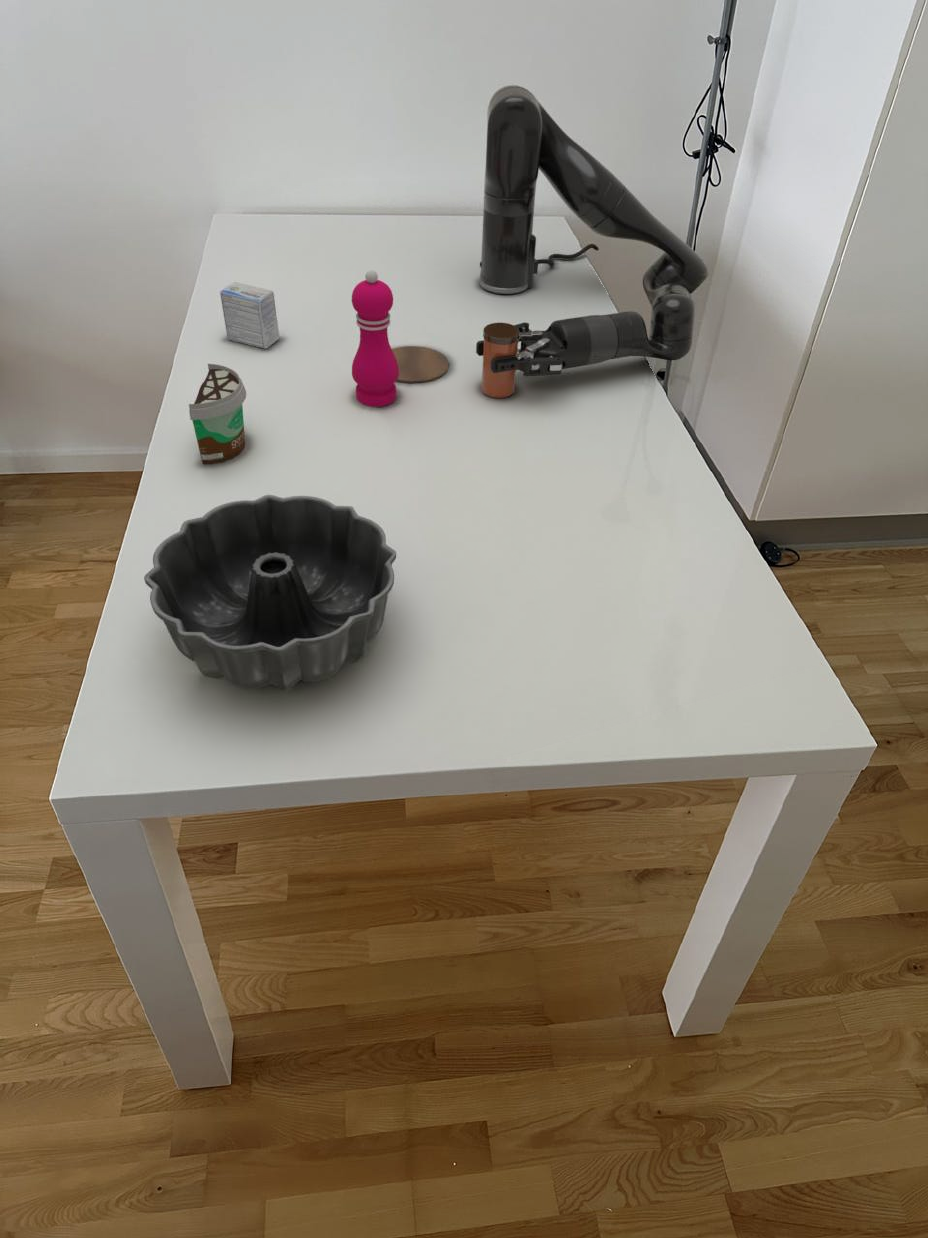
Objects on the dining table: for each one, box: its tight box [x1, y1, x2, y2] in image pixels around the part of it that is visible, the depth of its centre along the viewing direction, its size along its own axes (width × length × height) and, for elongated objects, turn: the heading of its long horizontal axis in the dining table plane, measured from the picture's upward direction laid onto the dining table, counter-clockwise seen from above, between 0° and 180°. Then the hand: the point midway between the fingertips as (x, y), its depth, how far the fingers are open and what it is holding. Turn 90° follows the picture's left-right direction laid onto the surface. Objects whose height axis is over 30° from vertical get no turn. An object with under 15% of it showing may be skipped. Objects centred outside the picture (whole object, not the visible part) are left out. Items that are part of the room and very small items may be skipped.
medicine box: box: [219, 281, 280, 350], centre depth 154 cm, size 8×4×9 cm, turn 65°
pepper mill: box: [351, 269, 399, 408], centre depth 138 cm, size 7×7×20 cm
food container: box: [188, 363, 247, 465], centre depth 129 cm, size 12×6×10 cm, turn 179°
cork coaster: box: [391, 345, 450, 384], centre depth 152 cm, size 12×12×1 cm
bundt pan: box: [143, 494, 397, 692], centre depth 102 cm, size 26×26×10 cm
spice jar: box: [481, 322, 519, 399], centre depth 144 cm, size 6×6×10 cm
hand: (484, 357), depth 142 cm, fingers closed on spice jar, 5 cm apart
